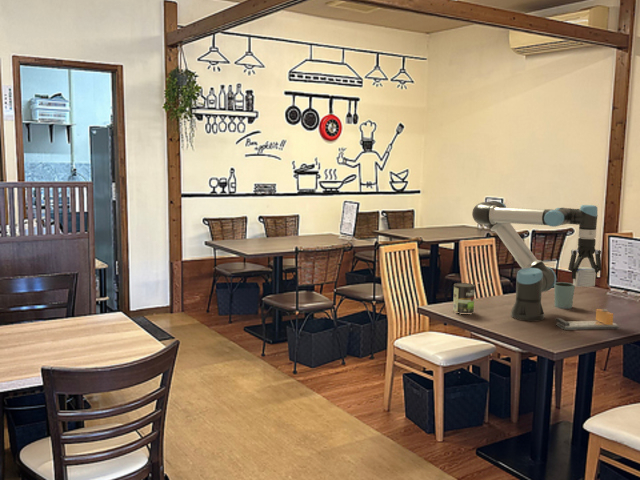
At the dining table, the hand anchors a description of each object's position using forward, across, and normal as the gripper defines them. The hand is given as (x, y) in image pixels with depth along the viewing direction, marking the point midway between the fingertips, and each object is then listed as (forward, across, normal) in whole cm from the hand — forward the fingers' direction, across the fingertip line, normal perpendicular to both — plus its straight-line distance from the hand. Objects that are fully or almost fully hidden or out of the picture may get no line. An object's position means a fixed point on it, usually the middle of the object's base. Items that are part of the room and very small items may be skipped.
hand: (583, 285), depth 293 cm
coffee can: (+17, -52, +19) cm, 58 cm away
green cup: (+17, +4, +26) cm, 31 cm away
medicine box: (+1, 0, 0) cm, 1 cm away
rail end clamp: (+15, +4, -12) cm, 20 cm away
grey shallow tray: (+17, -4, -12) cm, 21 cm away
